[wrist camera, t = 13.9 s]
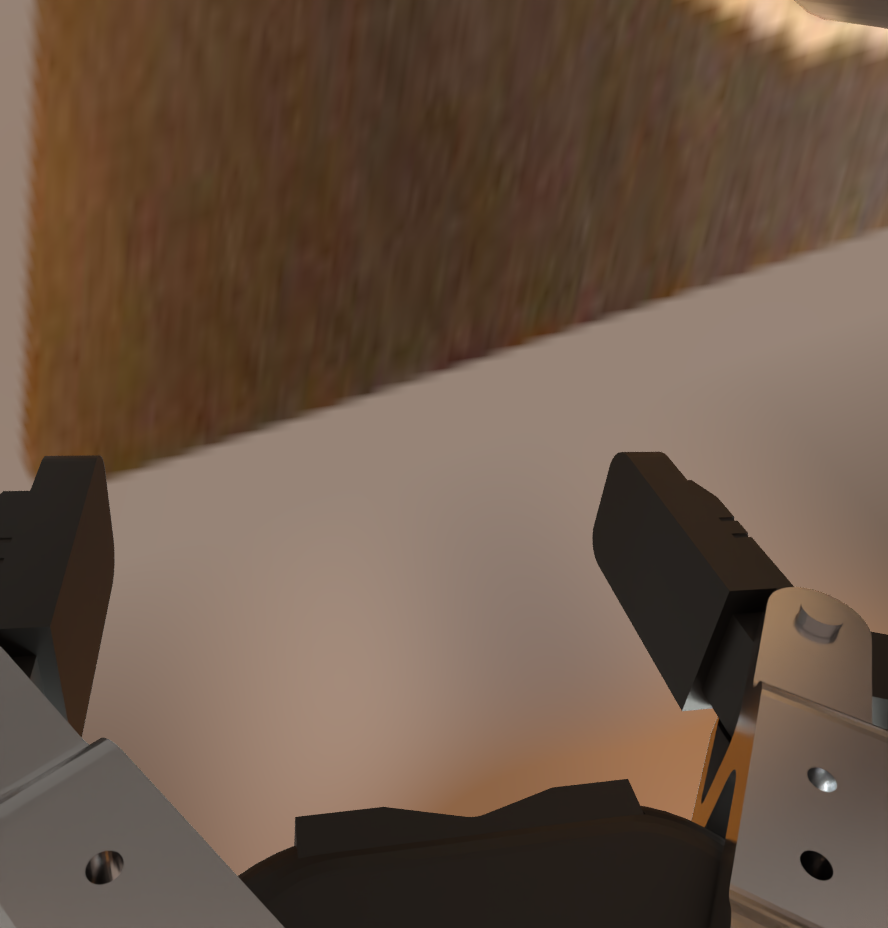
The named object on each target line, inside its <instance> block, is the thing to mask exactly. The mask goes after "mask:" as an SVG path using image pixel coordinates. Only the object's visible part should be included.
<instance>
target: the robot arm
mask: <svg viewBox="0 0 888 928" xmlns="http://www.w3.org/2000/svg"><path fill="white" fill-rule="evenodd" d="M794 1H795V2H797V3H798V4H799V5H800V6H801V7H802V8H804V9H805V10H806V11H807V12H809V13H811V14H813V15H815V16H818V17H820V18H822V19H826V20H833V21H840V22H847V23H854V24H861V25H868V26H875V27H881V28H886V29H888V0H794ZM593 550H594V555H595V558H596V561H597V563H598V565H599V567H600V569H601V571H602V572H603V574H604V576H605V578H606V579H607V581H608V583H609V584H610V586H611V588H612V590H613V591H614V593H615V595H616V597H617V598H618V600H619V602H620V604H621V605H622V607H623V609H624V611H625V612H626V614H627V616H628V618H629V619H630V621H631V622H632V625H633V626H634V628H635V630H636V631H637V633H638V635H639V637H640V638H641V640H642V642H643V644H644V645H645V647H646V649H647V651H648V653H649V654H650V656H651V658H652V659H653V661H654V663H655V665H656V666H657V668H658V670H659V672H660V673H661V675H662V677H663V679H664V680H665V682H666V684H667V685H668V687H669V689H670V691H671V693H672V694H673V696H674V698H675V700H676V701H677V703H678V705H679V706H680V708H681V710H682V711H687V710H698V709H709V708H713V709H714V711H715V712H716V714H717V716H718V717H717V720H716V722H715V724H714V727H713V729H712V732H711V735H710V739H709V744H708V748H707V753H706V757H705V762H704V766H703V770H702V775H701V779H700V784H699V788H698V793H697V797H696V801H695V807H694V810H693V815H692V819H691V821H690V820H688V819H685V818H683V817H680V816H677V815H674V814H671V813H669V812H666V811H662V810H657V809H654V808H649V807H645V806H640V804H639V802H638V800H637V798H636V796H635V793H634V791H633V789H632V787H631V785H630V783H629V780H628V779H624V780H615V781H606V782H597V783H589V784H580V785H571V786H563V787H554V788H550V789H548V790H545V791H543V792H540V793H538V794H535V795H533V796H530V797H528V798H525V799H523V800H520V801H518V802H515V803H512V804H510V805H507V806H505V807H503V808H500V809H497V810H495V811H492V812H490V813H487V814H485V815H482V816H478V817H462V816H454V815H446V814H438V813H428V812H421V811H413V810H404V809H396V808H387V807H380V808H370V809H362V810H353V811H345V812H335V813H327V814H318V815H309V816H301V817H295V842H294V846H293V847H290V848H288V849H286V850H283V851H281V852H278V853H276V854H274V855H272V856H270V857H268V858H266V859H265V860H263V861H261V862H259V863H257V864H255V865H254V866H252V867H251V868H249V869H248V870H246V871H245V872H243V873H242V874H240V875H239V876H237V875H236V874H235V873H234V872H233V871H232V870H231V868H230V867H229V866H228V865H227V864H226V863H225V862H224V861H223V860H222V859H221V858H220V856H218V854H217V853H216V852H215V851H214V850H213V849H212V848H211V847H210V846H209V844H208V843H207V842H206V841H205V840H204V839H203V838H202V837H201V836H200V835H199V834H198V832H197V831H196V830H195V829H194V828H193V827H192V826H191V825H190V824H189V823H188V822H187V821H186V820H185V818H184V817H183V816H182V815H181V814H180V813H179V812H178V811H177V809H176V808H174V806H173V805H172V804H171V803H170V802H169V801H168V800H167V799H166V798H165V796H164V795H163V794H162V793H161V792H160V791H159V790H158V789H157V788H156V787H155V785H154V784H153V783H152V782H151V781H150V780H149V779H148V778H147V777H146V776H145V775H144V774H143V772H142V771H141V770H140V769H139V768H138V767H137V766H136V765H135V764H134V763H133V761H132V760H131V759H130V758H129V757H128V756H127V755H126V754H125V753H124V752H123V751H122V750H121V749H120V748H119V747H118V746H117V745H116V744H115V743H113V742H112V741H110V740H109V739H106V738H100V739H99V740H97V741H96V742H93V743H92V744H90V745H89V744H88V743H86V742H85V741H84V740H83V739H82V733H83V728H84V723H85V719H86V714H87V709H88V704H89V699H90V694H91V689H92V684H93V679H94V674H95V669H96V664H97V659H98V654H99V649H100V644H101V639H102V634H103V629H104V624H105V619H106V614H107V609H108V604H109V599H110V594H111V589H112V584H113V577H114V540H113V531H112V523H111V515H110V507H109V500H108V490H107V482H106V474H105V467H104V462H103V459H102V457H101V456H45V457H44V458H43V460H42V462H41V464H40V467H39V470H38V472H37V475H36V477H35V480H34V483H33V485H32V488H31V490H30V491H3V492H2V493H1V494H0V928H888V635H886V634H880V633H875V632H870V629H869V627H868V626H867V624H866V623H865V621H864V620H863V619H862V618H861V616H860V615H858V614H857V613H856V612H855V611H854V610H853V609H852V608H850V607H849V606H848V605H846V604H845V603H843V602H841V601H840V600H838V599H836V598H834V597H832V596H830V595H827V594H825V593H822V592H819V591H816V590H813V589H807V588H801V587H794V586H793V585H792V584H791V583H790V581H789V580H788V579H787V578H786V577H785V576H784V574H783V573H782V572H781V571H780V570H779V569H778V567H777V566H776V565H775V564H774V563H773V562H772V560H771V559H770V558H769V557H768V556H767V555H766V554H765V552H764V551H763V550H762V549H761V548H760V547H759V545H758V544H757V543H756V542H755V541H754V540H753V538H751V537H748V533H747V531H746V530H745V529H744V528H743V527H742V525H740V523H739V522H738V521H734V516H733V515H732V514H731V513H730V512H729V510H728V509H727V508H726V507H725V506H724V505H723V503H722V502H721V501H720V500H719V499H718V498H717V497H716V496H714V495H713V494H712V493H710V492H709V491H707V490H706V489H704V488H703V487H701V486H699V485H698V484H696V483H695V482H693V481H692V480H687V479H686V478H685V477H684V476H683V474H682V473H681V472H680V471H679V470H678V469H677V467H676V466H675V465H674V464H673V462H672V461H671V460H670V459H669V458H668V456H667V455H665V454H664V453H662V452H621V453H617V454H616V455H615V456H614V458H613V459H612V462H611V464H610V467H609V471H608V475H607V479H606V483H605V486H604V490H603V494H602V498H601V502H600V505H599V509H598V513H597V517H596V520H595V524H594V528H593Z"/></svg>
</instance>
